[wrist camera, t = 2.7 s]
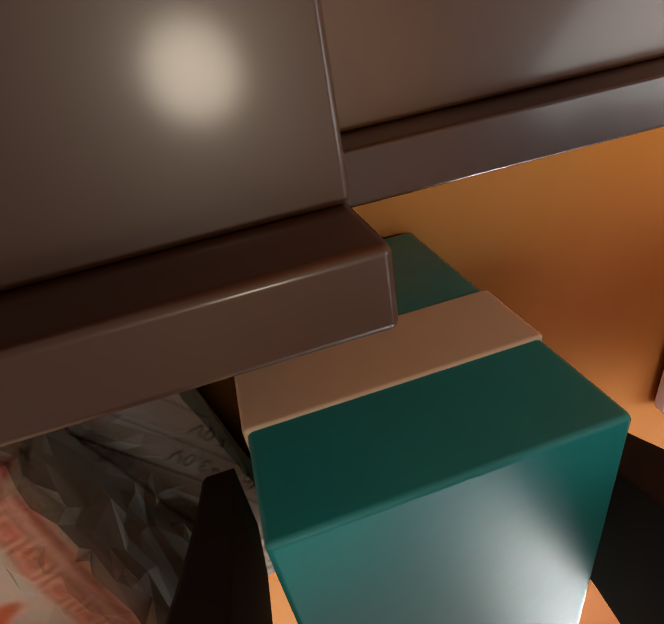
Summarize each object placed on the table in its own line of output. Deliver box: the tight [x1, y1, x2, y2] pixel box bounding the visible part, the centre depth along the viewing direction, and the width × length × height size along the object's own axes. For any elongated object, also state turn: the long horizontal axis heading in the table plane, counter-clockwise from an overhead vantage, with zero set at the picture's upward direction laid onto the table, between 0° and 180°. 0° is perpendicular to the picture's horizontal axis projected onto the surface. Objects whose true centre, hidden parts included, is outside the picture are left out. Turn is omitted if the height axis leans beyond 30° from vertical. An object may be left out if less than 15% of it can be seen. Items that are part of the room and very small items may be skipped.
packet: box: [234, 233, 631, 624], centre depth 10 cm, size 5×8×6 cm, turn 10°
